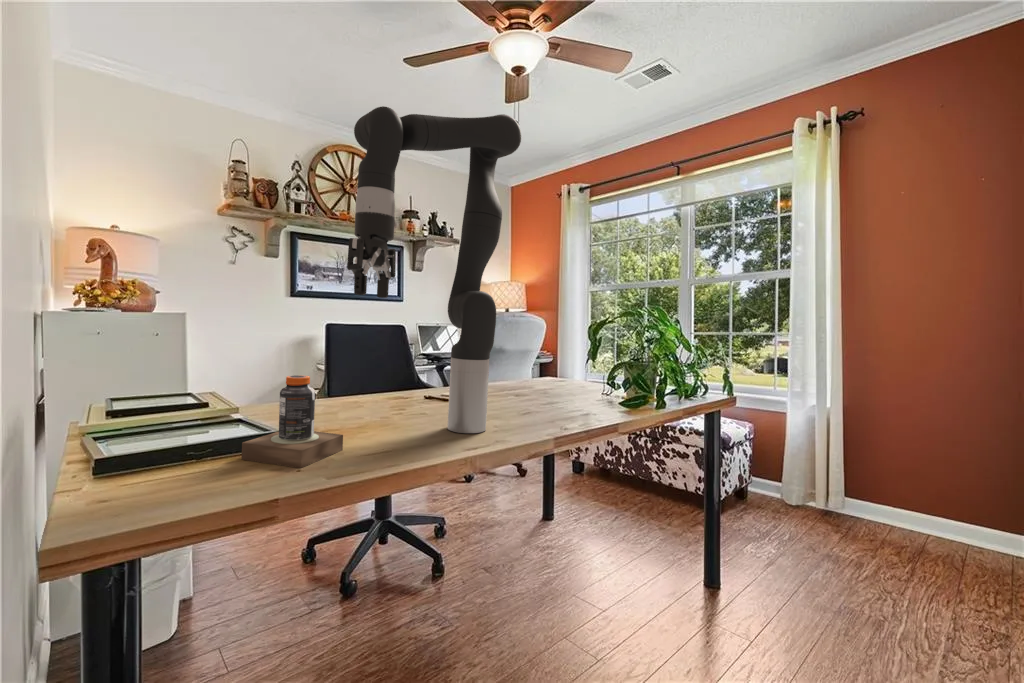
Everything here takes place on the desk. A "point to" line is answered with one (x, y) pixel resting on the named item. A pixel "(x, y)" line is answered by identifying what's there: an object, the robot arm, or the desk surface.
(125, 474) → the desk surface
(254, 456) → the walnut base
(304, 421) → the pill bottle
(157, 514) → the desk surface
